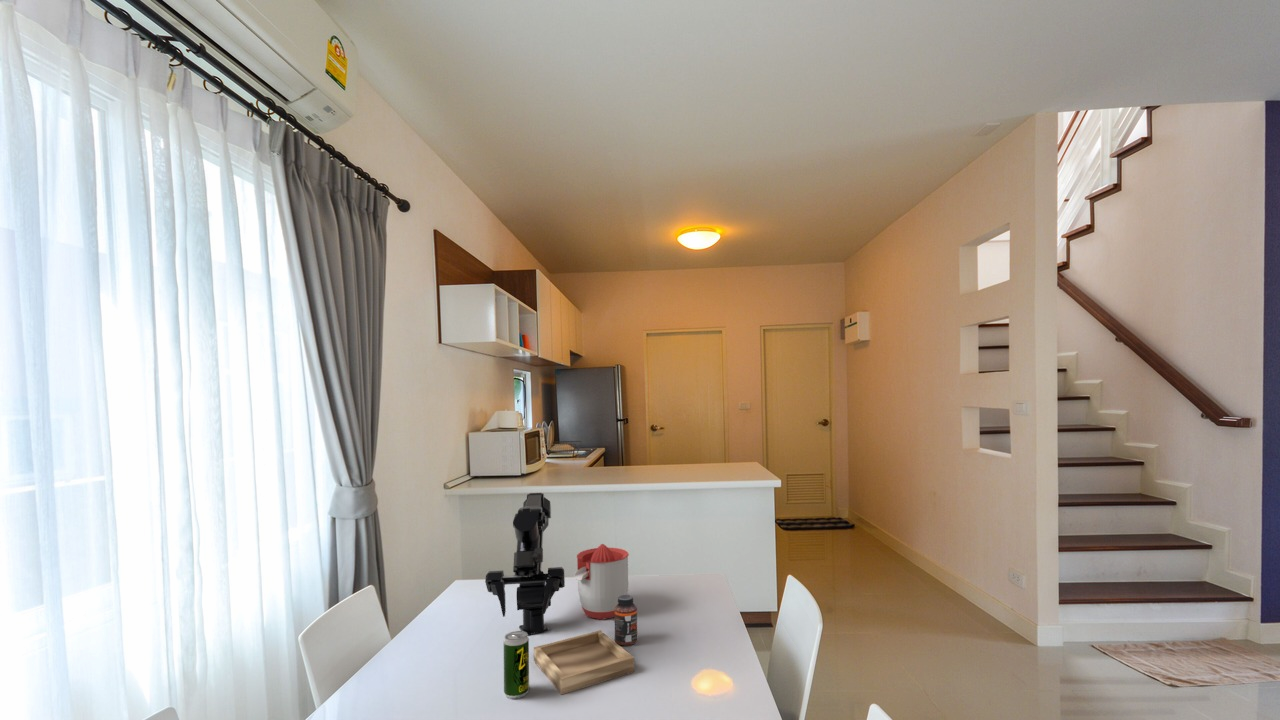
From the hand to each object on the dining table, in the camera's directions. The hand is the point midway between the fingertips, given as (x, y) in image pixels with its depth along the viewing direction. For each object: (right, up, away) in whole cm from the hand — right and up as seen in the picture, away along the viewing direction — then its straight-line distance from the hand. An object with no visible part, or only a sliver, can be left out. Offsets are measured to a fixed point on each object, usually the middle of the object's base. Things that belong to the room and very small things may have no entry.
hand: (523, 614), depth 126 cm
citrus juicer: (+16, -16, +34) cm, 41 cm away
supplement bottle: (+24, -14, +15) cm, 31 cm away
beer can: (0, -13, -9) cm, 16 cm away
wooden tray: (+14, -13, +2) cm, 19 cm away
